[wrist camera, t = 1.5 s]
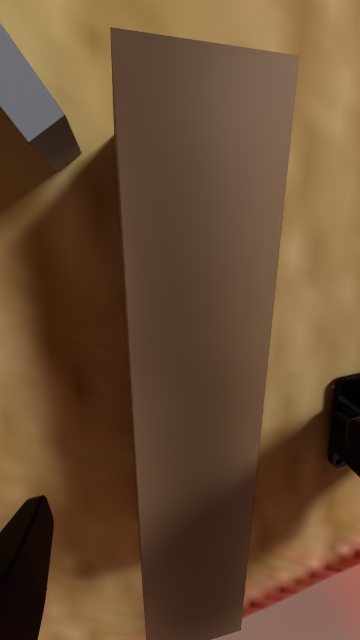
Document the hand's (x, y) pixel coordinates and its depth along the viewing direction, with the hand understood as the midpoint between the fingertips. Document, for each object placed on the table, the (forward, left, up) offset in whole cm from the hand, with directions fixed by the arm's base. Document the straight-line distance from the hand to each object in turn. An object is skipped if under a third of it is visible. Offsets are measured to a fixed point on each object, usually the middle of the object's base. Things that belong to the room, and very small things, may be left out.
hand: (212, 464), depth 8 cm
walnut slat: (0, 0, -7) cm, 7 cm away
